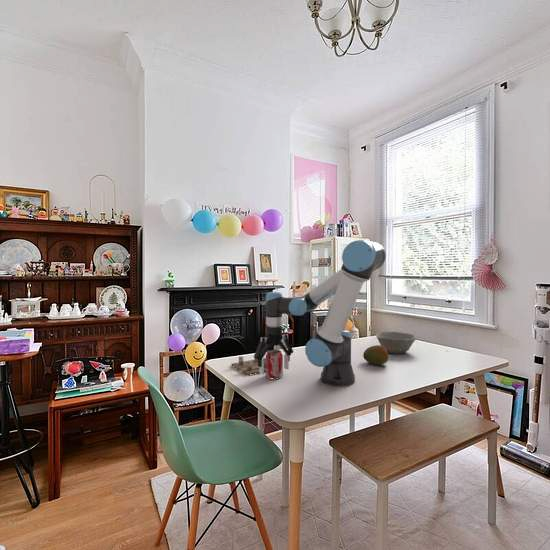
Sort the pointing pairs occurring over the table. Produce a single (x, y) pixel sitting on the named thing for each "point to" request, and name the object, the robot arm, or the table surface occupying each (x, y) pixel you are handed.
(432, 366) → the table surface
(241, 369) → the peg board
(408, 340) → the ceramic bowl
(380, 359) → the fruit
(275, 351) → the beverage can
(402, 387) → the table surface
